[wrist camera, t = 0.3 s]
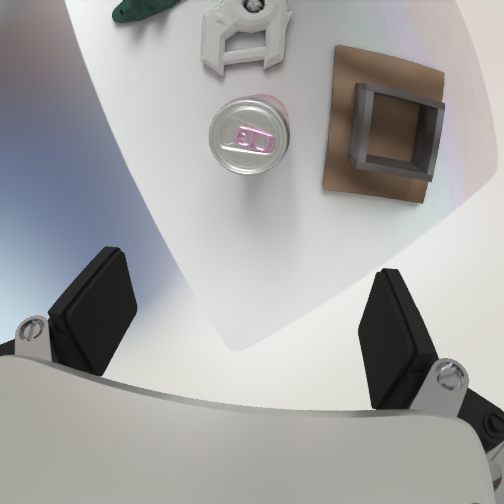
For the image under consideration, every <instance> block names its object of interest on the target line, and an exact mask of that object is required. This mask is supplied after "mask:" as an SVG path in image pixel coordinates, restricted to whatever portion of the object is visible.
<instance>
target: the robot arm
mask: <svg viewBox="0 0 504 504" xmlns="http://www.w3.org/2000/svg"><path fill="white" fill-rule="evenodd" d="M136 312H137V303H136V299H135V295H134V291H133V288H132V284H131V280H130V275H129V271H128V267H127V262H126V258H125V254H124V252H122V251H121V250H120V248H118V247H104V248H103V249H102V250H101V251H100V252H99V253H98V254H97V256H96V257H95V258H94V259H93V260H92V261H91V262H90V263H89V264H88V265H87V266H86V268H85V269H84V270H83V271H82V272H81V273H80V274H79V275H78V276H77V278H76V279H75V280H74V281H73V282H72V283H71V284H70V286H69V287H68V288H67V289H66V290H65V291H64V293H63V294H62V295H61V296H60V297H59V299H58V300H57V301H56V302H55V303H54V305H53V306H52V307H51V308H50V310H49V311H48V314H49V316H50V318H49V319H48V321H47V320H46V318H45V317H43V316H31V317H29V318H27V319H25V320H24V321H23V322H22V323H21V324H20V325H19V326H18V328H17V330H16V334H15V339H13V340H11V341H8V342H6V343H3V344H1V345H0V504H504V412H503V411H502V410H501V409H500V408H498V407H497V406H495V405H494V404H492V403H491V402H489V401H487V400H486V399H485V398H483V397H481V396H480V395H479V394H477V393H476V392H474V391H472V390H471V389H469V388H468V384H469V378H468V374H467V372H466V370H465V368H464V367H463V366H462V365H461V364H460V363H458V362H457V361H455V360H452V359H448V358H443V359H439V358H438V355H437V352H436V350H435V347H434V345H433V343H432V340H431V338H430V336H429V333H428V331H427V328H426V326H425V324H424V321H423V319H422V317H421V315H420V312H419V310H418V309H417V307H416V305H415V303H414V301H413V299H412V296H411V294H410V292H409V290H408V288H407V286H406V284H405V282H404V280H403V278H402V276H401V274H400V272H399V271H398V269H388V268H387V269H386V268H383V269H382V270H381V272H377V273H376V275H375V279H374V282H373V285H372V289H371V292H370V295H369V298H368V301H367V304H366V307H365V310H364V313H363V316H362V319H361V322H360V325H359V328H358V336H359V340H360V345H361V351H362V355H363V361H364V366H365V371H366V377H367V382H368V388H369V394H370V400H371V406H372V408H373V409H376V410H360V411H315V410H289V409H288V410H287V409H273V408H261V407H251V406H242V405H233V404H225V403H218V402H211V401H204V400H198V399H192V398H187V397H181V396H176V395H170V394H166V393H161V392H157V391H152V390H148V389H144V388H139V387H135V386H131V385H127V384H123V383H120V382H116V381H112V380H109V379H105V378H102V377H99V376H102V375H103V374H104V372H105V370H106V368H107V366H108V364H109V363H110V360H111V359H112V357H113V355H114V353H115V351H116V349H117V348H118V345H119V344H120V342H121V340H122V338H123V336H124V335H125V333H126V331H127V329H128V327H129V326H130V324H131V322H132V320H133V318H134V317H135V315H136Z"/></svg>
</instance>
